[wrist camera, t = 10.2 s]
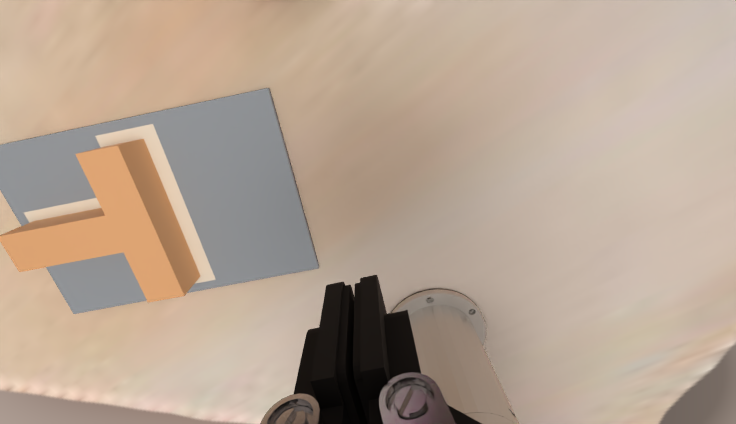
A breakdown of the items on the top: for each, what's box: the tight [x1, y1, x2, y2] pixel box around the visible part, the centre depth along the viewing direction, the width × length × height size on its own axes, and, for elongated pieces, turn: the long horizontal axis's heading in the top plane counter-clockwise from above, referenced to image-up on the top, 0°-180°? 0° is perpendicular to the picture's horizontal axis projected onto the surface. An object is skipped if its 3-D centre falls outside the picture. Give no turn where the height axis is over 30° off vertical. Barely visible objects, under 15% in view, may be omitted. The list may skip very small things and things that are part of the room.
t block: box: [0, 139, 200, 302], centre depth 36 cm, size 16×15×4 cm
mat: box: [0, 88, 319, 314], centre depth 38 cm, size 20×30×1 cm, turn 101°
